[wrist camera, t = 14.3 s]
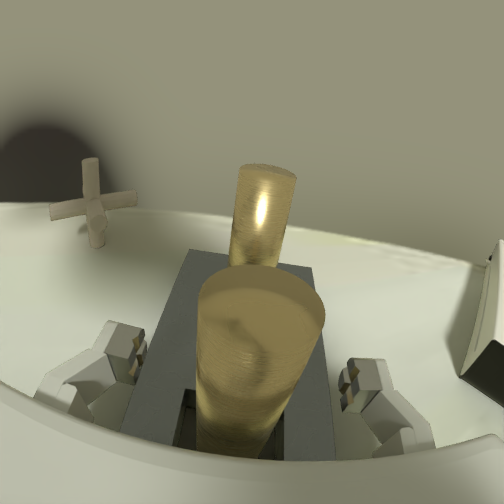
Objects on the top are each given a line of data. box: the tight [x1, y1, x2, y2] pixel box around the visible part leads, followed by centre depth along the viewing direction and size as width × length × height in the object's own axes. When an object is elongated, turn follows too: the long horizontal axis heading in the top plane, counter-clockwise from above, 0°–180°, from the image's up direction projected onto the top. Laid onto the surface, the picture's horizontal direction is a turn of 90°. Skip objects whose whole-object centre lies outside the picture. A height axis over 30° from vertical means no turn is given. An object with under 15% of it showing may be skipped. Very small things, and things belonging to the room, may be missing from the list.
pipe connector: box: [49, 158, 137, 248], centre depth 29 cm, size 10×10×10 cm
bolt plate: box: [120, 164, 336, 461], centre depth 17 cm, size 24×12×13 cm, turn 176°
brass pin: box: [196, 264, 325, 459], centre depth 12 cm, size 4×4×13 cm
